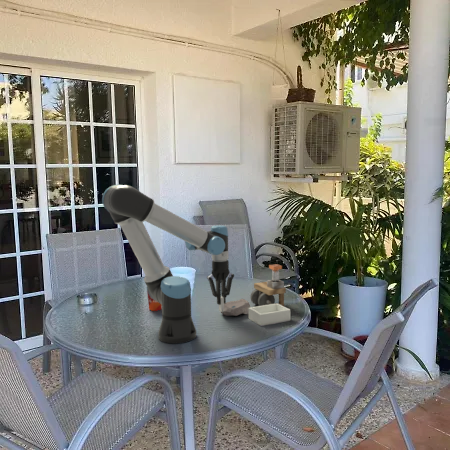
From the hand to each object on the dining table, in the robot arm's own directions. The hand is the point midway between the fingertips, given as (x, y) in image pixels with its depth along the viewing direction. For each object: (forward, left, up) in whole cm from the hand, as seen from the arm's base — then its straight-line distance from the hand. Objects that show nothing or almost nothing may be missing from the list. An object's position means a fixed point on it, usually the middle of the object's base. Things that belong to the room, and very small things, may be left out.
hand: (221, 310), depth 201 cm
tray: (+17, -14, -3) cm, 22 cm away
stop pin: (+28, -1, +8) cm, 29 cm away
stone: (+7, 0, -3) cm, 8 cm away
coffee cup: (-24, +25, -3) cm, 35 cm away
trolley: (+25, +3, -3) cm, 26 cm away
